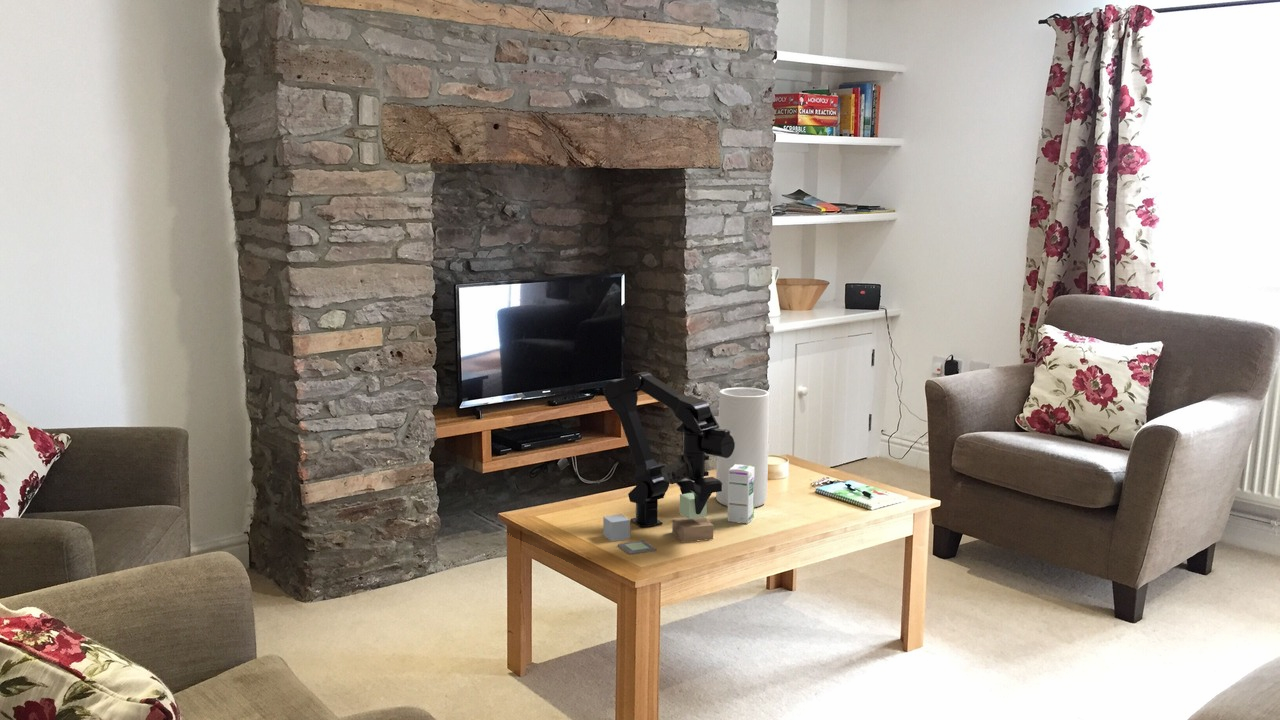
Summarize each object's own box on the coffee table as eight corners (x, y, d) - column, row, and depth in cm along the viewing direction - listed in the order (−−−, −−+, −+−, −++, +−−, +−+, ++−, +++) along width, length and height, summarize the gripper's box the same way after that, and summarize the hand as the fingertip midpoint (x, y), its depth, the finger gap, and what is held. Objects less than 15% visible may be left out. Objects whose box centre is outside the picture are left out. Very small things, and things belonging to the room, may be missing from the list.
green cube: (679, 513, 262) (679, 494, 261) (696, 511, 264) (697, 492, 263) (689, 519, 257) (689, 499, 256) (706, 516, 259) (706, 497, 259)
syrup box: (748, 524, 271) (749, 471, 269) (726, 521, 273) (728, 468, 271) (753, 518, 276) (755, 465, 274) (732, 515, 278) (734, 463, 276)
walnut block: (672, 533, 264) (672, 518, 263) (701, 530, 266) (701, 515, 266) (683, 543, 256) (683, 528, 256) (713, 540, 259) (713, 525, 258)
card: (617, 545, 253) (617, 543, 253) (643, 541, 256) (643, 539, 256) (630, 554, 247) (630, 552, 247) (656, 550, 250) (656, 548, 250)
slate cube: (603, 535, 261) (603, 516, 260) (621, 533, 263) (621, 514, 262) (611, 541, 256) (611, 522, 255) (629, 539, 258) (629, 519, 258)
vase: (739, 491, 301) (742, 385, 296) (777, 502, 290) (781, 392, 285) (705, 500, 291) (707, 391, 286) (743, 512, 281) (746, 399, 276)
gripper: (648, 445, 262) (647, 504, 265) (684, 463, 246) (682, 526, 248) (687, 441, 267) (685, 499, 270) (724, 458, 251) (722, 520, 253)
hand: (692, 511), depth 260 cm, fingers closed on green cube, 5 cm apart
